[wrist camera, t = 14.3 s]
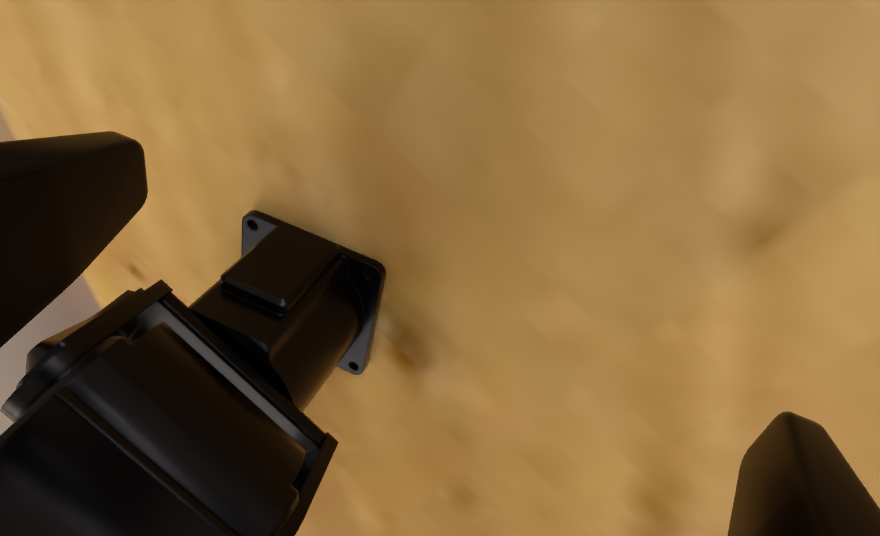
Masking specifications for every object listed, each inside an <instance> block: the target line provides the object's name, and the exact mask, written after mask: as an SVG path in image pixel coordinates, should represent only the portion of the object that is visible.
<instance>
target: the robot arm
mask: <svg viewBox="0 0 880 536" xmlns="http://www.w3.org/2000/svg"><path fill="white" fill-rule="evenodd" d="M147 193H148V188H147V178H146V167H145V157H144V150H143V148H142V146H141V144H140V143H139V142H137V141H136V140H134V139H131V138H129V137H127V136H124V135H122V134H119V133H116V132H111V131H109V132H98V133H88V134H78V135H67V136H57V137H47V138H37V139H27V140H16V141H6V142H0V348H1V347H2V346H3V345H4V344H5V343H6V342H7V341H8V340H9V339H11V338H12V337H13V336H14V335H15V334H16V333H17V332H18V331H20V330H21V329H22V328H23V327H24V326H25V325H26V324H27V323H28V322H29V321H31V320H32V319H33V318H34V317H35V316H36V315H37V314H38V313H40V312H41V311H42V310H43V309H44V308H45V307H46V306H47V305H49V303H51V302H52V301H53V300H54V299H55V298H56V297H57V296H58V295H60V294H61V293H62V292H63V291H64V290H65V289H66V288H67V287H68V286H69V285H71V283H73V282H74V281H75V280H76V279H77V278H78V277H79V276H80V274H81V273H82V272H83V271H84V270H85V269H86V268H87V267H88V266H89V265H90V264H91V263H92V262H93V261H94V259H95V258H96V257H97V256H98V255H99V254H100V253H101V252H102V251H103V250H104V248H105V247H106V246H107V245H108V244H109V243H110V242H111V241H112V240H113V238H114V237H115V236H116V235H117V234H118V233H119V232H120V231H121V230H122V229H123V227H124V226H125V225H126V224H127V223H128V222H129V221H130V220H131V219H132V218H133V216H134V215H135V214H136V213H137V212H138V211H139V210H140V209H141V207H142V206H143V204H144V203H145V200H146V198H147ZM254 221H255V222H256V224H257V225H256V224H255V223H254ZM369 270H371V271H373V272H374V273H375V275H373V274H372V273H371V272H370V271H369ZM385 276H386V271H385V268H384V266H383V265H382V264H381V263H379V262H378V261H376V260H373V259H371V258H369V257H366V256H364V255H362V254H359V253H357V252H354V251H352V250H350V249H347V248H345V247H343V246H340V245H338V244H336V243H333V242H331V241H328V240H326V239H324V238H321V237H319V236H317V235H314V234H312V233H309V232H307V231H305V230H302V229H300V228H298V227H295V226H293V225H290V224H288V223H286V222H283V221H281V220H279V219H276V218H274V217H271V216H269V215H267V214H264V213H262V212H260V211H256V210H253V211H250V212H249V213H248V214H246V215H245V216H244V217H243V220H242V257H241V258H240V259H239V260H238V261H237V262H235V263H234V264H233V265H232V266H231V267H230V268H228V269H227V270H226V271H225V272H224V273H223V274H222V275H221V279H220V280H219V281H217V282H216V283H215V284H214V285H213V286H212V287H211V288H209V289H208V290H207V291H206V292H205V293H204V294H203V295H201V296H200V297H199V298H198V299H197V300H196V301H195V302H193V303H192V304H191V305H190V306H189V307H187V306H186V305H185V304H184V303H183V302H182V301H181V300H180V299H178V298H177V297H176V296H175V295H174V294H173V293H172V291H173V290H172V289H171V288H170V287H169V286H168V285H167V284H166V283H165V282H164V281H163V280H160V281H158V282H157V283H155V284H154V285H152V286H151V287H149V288H148V289H146V290H145V291H144V290H143V289H142V288H140V289H138V290H137V291H135V292H134V291H130V290H127V291H126V292H125V293H123V294H122V295H121V296H119V297H118V298H117V299H116V300H114V301H113V302H112V303H110V304H109V305H108V306H106V307H105V308H104V309H102V310H101V311H99V312H98V313H97V314H95V315H93V316H92V317H91V318H88V319H87V320H85V321H83V322H80V323H79V324H77V325H74V326H72V327H70V328H68V329H66V330H64V331H62V332H60V333H58V334H56V335H54V336H51V337H49V338H47V339H46V340H43V341H42V342H40V343H39V344H37V345H36V346H35V347H34V348H33V349H32V350H31V351H30V352H29V353H28V354H27V364H26V375H25V376H24V377H23V378H22V379H21V381H20V382H19V383H18V385H17V386H16V390H15V391H14V392H13V394H12V395H11V396H10V397H9V398H8V399H7V401H6V402H5V403H4V405H3V406H2V408H1V412H3V413H4V414H5V415H6V416H7V417H8V418H10V419H11V420H12V421H13V422H14V424H12V425H11V426H10V427H9V428H8V429H7V430H6V431H5V432H4V433H3V434H2V435H0V536H294V535H295V534H296V532H297V531H298V529H299V527H300V525H301V523H302V521H303V520H304V518H305V515H306V513H307V511H308V509H309V506H310V504H311V502H312V500H313V498H314V495H315V493H316V491H317V489H318V487H319V484H320V482H321V480H322V478H323V475H324V473H325V471H326V469H327V467H328V464H329V462H330V460H331V458H332V455H333V453H334V451H335V449H336V447H337V444H338V441H337V440H336V439H335V438H333V437H332V436H331V435H330V434H329V433H328V432H327V433H324V432H323V431H322V430H321V429H320V428H319V427H318V426H317V425H316V424H315V423H314V422H312V421H311V420H310V419H309V418H308V417H307V416H306V415H305V414H304V413H303V411H304V410H305V408H306V407H307V406H308V404H309V403H310V402H311V400H312V399H313V397H314V396H315V395H316V393H317V392H318V391H319V389H320V388H321V387H322V385H323V384H324V383H325V381H326V380H327V379H328V377H329V376H330V375H331V373H332V372H333V371H334V369H335V368H336V366H337V367H340V368H342V369H344V370H346V371H348V372H351V373H353V374H361V373H363V371H364V370H365V368H366V367H367V364H368V359H369V354H370V350H371V345H372V340H373V335H374V330H375V325H376V320H377V315H378V310H379V306H380V301H381V296H382V291H383V286H384V281H385ZM354 362H355V363H354ZM728 536H880V509H879V507H878V506H877V504H876V503H875V501H874V500H873V498H872V497H871V496H870V494H869V493H868V491H867V490H866V488H865V487H864V485H863V484H862V483H861V481H860V480H859V478H858V477H857V475H856V474H855V472H854V471H853V469H852V468H851V467H850V465H849V464H848V462H847V461H846V459H845V458H844V456H843V455H842V454H841V452H840V451H839V449H838V448H837V446H836V445H835V443H834V442H833V441H832V439H831V438H830V436H829V435H828V433H827V432H826V430H825V429H824V428H823V427H822V426H821V425H820V424H818V423H816V422H814V421H812V420H809V419H807V418H804V417H802V416H800V415H797V414H795V413H792V412H782V413H780V414H779V415H778V416H776V417H775V418H774V420H773V421H772V422H771V423H770V424H769V425H768V427H767V428H766V429H765V430H764V431H763V432H762V434H761V435H760V436H759V437H758V438H757V439H756V441H755V442H754V443H753V444H752V445H751V446H750V447H749V449H748V450H747V452H746V453H745V455H744V457H743V460H742V462H741V466H740V470H739V476H738V481H737V487H736V492H735V498H734V503H733V509H732V514H731V520H730V525H729V531H728Z"/></svg>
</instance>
